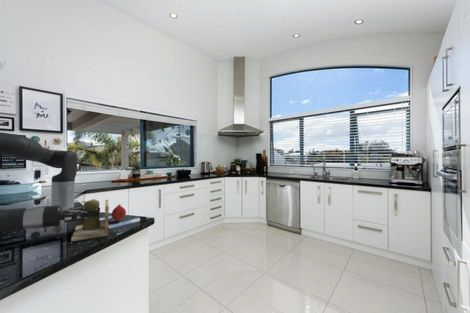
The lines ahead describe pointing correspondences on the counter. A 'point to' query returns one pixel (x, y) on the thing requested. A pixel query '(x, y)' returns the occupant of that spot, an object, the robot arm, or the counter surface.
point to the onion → (118, 213)
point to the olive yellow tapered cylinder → (91, 222)
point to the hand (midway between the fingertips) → (99, 211)
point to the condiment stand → (94, 233)
